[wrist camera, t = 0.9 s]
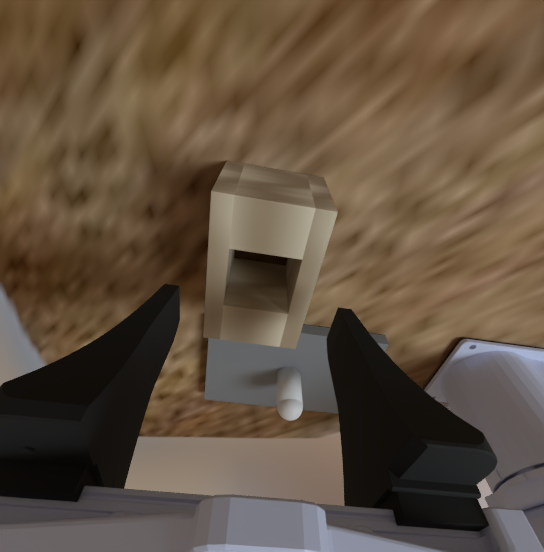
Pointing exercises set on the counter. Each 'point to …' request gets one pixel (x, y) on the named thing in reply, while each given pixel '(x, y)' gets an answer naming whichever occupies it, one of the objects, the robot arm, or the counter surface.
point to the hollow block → (266, 240)
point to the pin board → (275, 373)
